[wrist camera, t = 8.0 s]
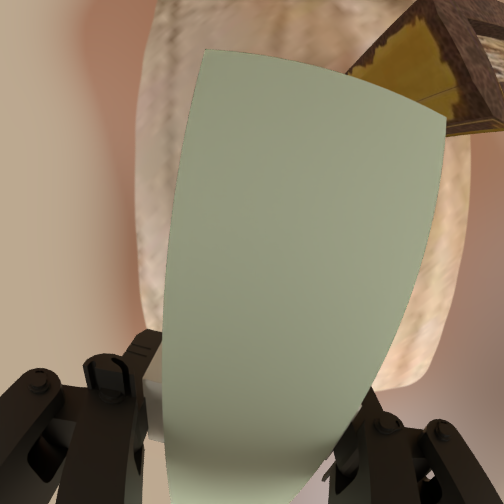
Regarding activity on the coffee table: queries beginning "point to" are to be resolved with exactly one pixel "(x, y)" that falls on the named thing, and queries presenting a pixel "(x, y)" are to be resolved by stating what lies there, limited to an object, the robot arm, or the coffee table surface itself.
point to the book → (444, 62)
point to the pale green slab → (285, 268)
